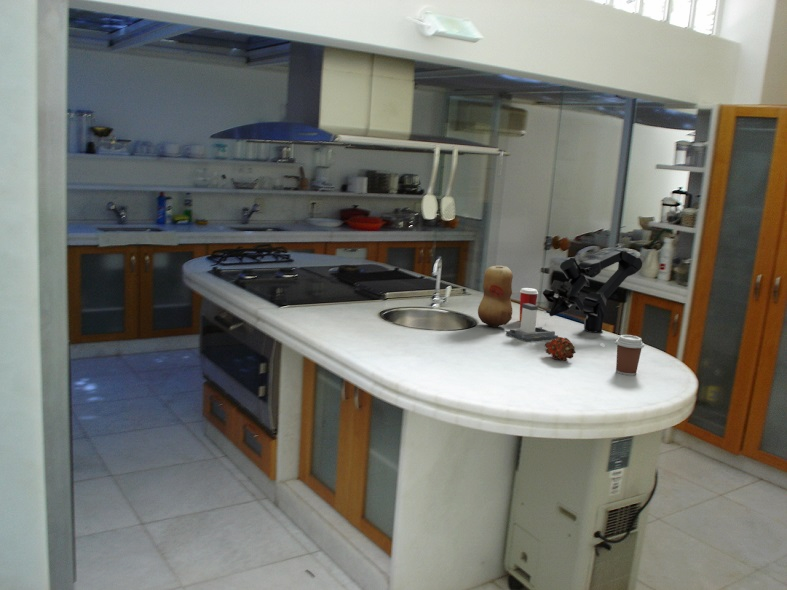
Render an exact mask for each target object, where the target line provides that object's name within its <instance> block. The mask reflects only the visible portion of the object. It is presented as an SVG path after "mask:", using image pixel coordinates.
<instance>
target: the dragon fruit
mask: <svg viewBox="0 0 787 590" xmlns="http://www.w3.org/2000/svg"><path fill="white" fill-rule="evenodd" d="M544 347H545V348H544V349H545V350H544V351H545V353H546V354H547V355H551V356H552V359H553V360H558V359H559V360H560V361H563V362H564V361H566V360H567V359H572V358H573V359H574V354H576V350H575V346H574V343H572V342H571V341H570V339H569V338H568V337H562V336H558V338H557V339H550V341H546V342H545V344H544Z"/></svg>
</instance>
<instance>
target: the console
mask: <svg viewBox="0 0 787 590" xmlns="http://www.w3.org/2000/svg"><path fill="white" fill-rule="evenodd" d="M517 330H520V328H511V329H509V330H506V331H505V334H506V335H507V336H510V337H513V338H515V339H518V340H520V341H523V342H526V343H529V342H539V340H540V341H549V340H550V341H551V340H555V339H557V338H558V337H559V335H557V334H556V331H554V330H549V329H544V328H543V327H542V326H535V332H537V333H523V332H520V331H517Z"/></svg>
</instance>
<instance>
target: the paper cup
mask: <svg viewBox="0 0 787 590" xmlns="http://www.w3.org/2000/svg"><path fill="white" fill-rule="evenodd" d="M519 293H520V296H519V297H520V299H519V322H520V323H521V318H522V305H523V304H526V303H530V304H533V305H536V306H537V299H538V295H539V292H538V290H537V289H536V288H531V287H530V288H529V287H522V288H521V289H520V291H519Z"/></svg>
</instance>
